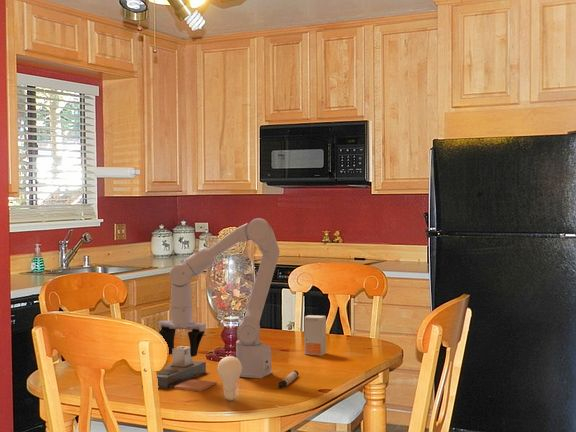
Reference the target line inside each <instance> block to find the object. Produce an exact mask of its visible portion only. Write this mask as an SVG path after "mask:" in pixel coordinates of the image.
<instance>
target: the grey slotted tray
mask: <svg viewBox="0 0 576 432" xmlns="http://www.w3.org/2000/svg"><path fill="white" fill-rule="evenodd" d="M206 365H207V362H206V361H201V360H192V366H189V367H187V368H181V367H173V362H172V363H170V364H167V365H165V367H164V366H163V367H164V369H163V370H161V371H159V372H157V378H158V386H159V388H158V389H166V390H168V389H170V388H172V387H174V386H176V385H178V384H181V383H183V382H185V381H188V380H190V379H193V378H196V377H198V376H200V375H203V374H206V373H207V366H206Z"/></svg>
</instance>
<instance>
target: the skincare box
mask: <svg viewBox="0 0 576 432" xmlns="http://www.w3.org/2000/svg"><path fill="white" fill-rule="evenodd" d="M303 321H304V325H303V326H304V327H303V328H304V330H303V331H304V335H303V336H304V337H303V338H304V347H303V348H304V351H303V352H304V355H310V356H321V357H323V356H324V355H325V354H327V316H326V315H313V314H309V315H305V316H304V319H303Z"/></svg>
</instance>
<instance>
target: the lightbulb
mask: <svg viewBox="0 0 576 432" xmlns="http://www.w3.org/2000/svg"><path fill="white" fill-rule="evenodd" d="M216 371H217V373H218V376H219V378H220V379H221V382H222V385H223V390H224V397H225V399H227V400H228V401H233V400H234V399H236V393H237V392H236V390H237V388H238V387H237V385H238V381H239V379H240V375H241V372H242V365H241V362H240V361H239V360H238V359H237V358H236V356H233V355H228V356H227V355H226V356H224V357H223V358H222V359H221V358H220V360H219V362H218V364H217V370H216Z"/></svg>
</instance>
